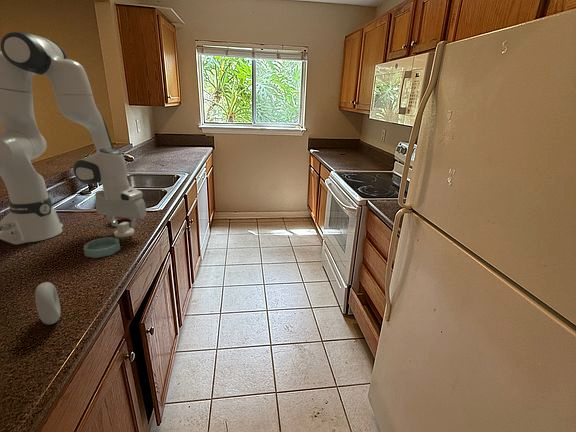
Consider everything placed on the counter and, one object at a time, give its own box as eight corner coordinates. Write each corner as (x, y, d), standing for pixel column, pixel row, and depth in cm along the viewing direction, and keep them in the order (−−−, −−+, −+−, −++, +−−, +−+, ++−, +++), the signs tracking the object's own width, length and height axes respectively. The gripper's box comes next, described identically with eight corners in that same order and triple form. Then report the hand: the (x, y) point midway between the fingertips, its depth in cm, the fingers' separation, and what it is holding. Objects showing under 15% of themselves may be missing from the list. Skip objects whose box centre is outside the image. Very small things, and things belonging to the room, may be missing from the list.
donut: (46, 311, 79) (35, 276, 75) (62, 307, 81) (53, 273, 77) (42, 335, 71) (31, 298, 68) (61, 330, 73) (50, 293, 69)
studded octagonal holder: (77, 255, 107) (75, 248, 106) (102, 242, 117) (101, 235, 116) (103, 259, 104) (102, 252, 104) (127, 245, 114) (125, 239, 113)
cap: (110, 236, 122) (108, 226, 120) (123, 230, 128) (121, 219, 126) (125, 239, 120) (123, 228, 118) (138, 232, 126) (136, 221, 125)
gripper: (87, 192, 118) (95, 226, 122) (134, 197, 113) (140, 232, 118) (101, 188, 123) (107, 220, 128) (146, 192, 119) (151, 226, 124)
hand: (123, 226), depth 123 cm, fingers open, 7 cm apart
